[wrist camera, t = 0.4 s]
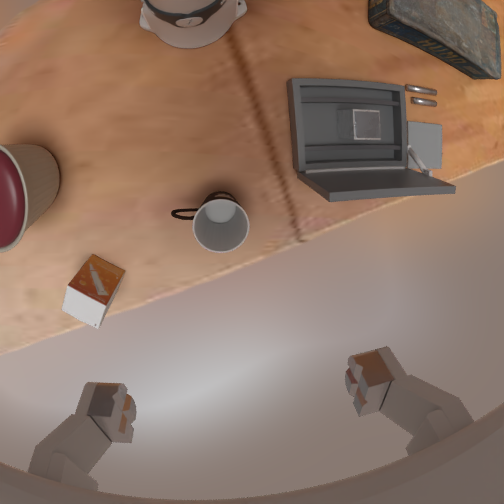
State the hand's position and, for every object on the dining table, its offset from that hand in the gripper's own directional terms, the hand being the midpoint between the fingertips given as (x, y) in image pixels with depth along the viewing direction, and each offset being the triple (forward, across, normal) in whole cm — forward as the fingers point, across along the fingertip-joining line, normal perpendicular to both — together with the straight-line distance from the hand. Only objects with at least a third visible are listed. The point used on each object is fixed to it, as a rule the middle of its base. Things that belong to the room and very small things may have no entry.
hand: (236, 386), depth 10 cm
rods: (+46, -42, -14) cm, 63 cm away
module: (+44, -24, -7) cm, 51 cm away
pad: (+45, -43, -3) cm, 63 cm away
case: (+46, -24, -7) cm, 52 cm away
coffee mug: (+46, +2, +6) cm, 46 cm away
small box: (+46, +27, +17) cm, 56 cm away
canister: (+46, +37, -6) cm, 59 cm away
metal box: (+46, -48, -34) cm, 75 cm away
